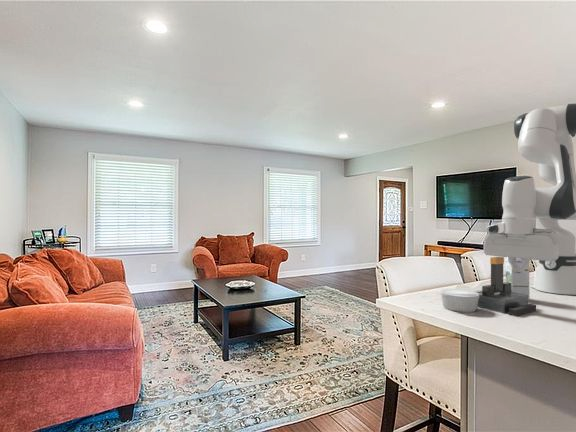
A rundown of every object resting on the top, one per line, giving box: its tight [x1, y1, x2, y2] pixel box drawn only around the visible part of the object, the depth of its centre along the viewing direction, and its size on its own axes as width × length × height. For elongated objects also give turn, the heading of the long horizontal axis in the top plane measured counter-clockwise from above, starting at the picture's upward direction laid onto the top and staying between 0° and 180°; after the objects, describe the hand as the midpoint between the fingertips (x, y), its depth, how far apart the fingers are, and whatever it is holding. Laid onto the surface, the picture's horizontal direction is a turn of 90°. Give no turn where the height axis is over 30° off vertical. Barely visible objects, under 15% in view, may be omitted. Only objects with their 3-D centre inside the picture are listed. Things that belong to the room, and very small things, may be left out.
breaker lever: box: [489, 256, 505, 293], centre depth 114 cm, size 5×2×11 cm, turn 121°
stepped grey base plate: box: [473, 281, 529, 314], centre depth 114 cm, size 14×12×7 cm
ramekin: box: [439, 288, 480, 313], centre depth 111 cm, size 11×11×5 cm
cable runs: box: [508, 303, 537, 317], centre depth 115 cm, size 13×22×2 cm, turn 31°
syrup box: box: [504, 257, 531, 302], centre depth 124 cm, size 6×6×14 cm
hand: (518, 272), depth 109 cm, fingers closed
